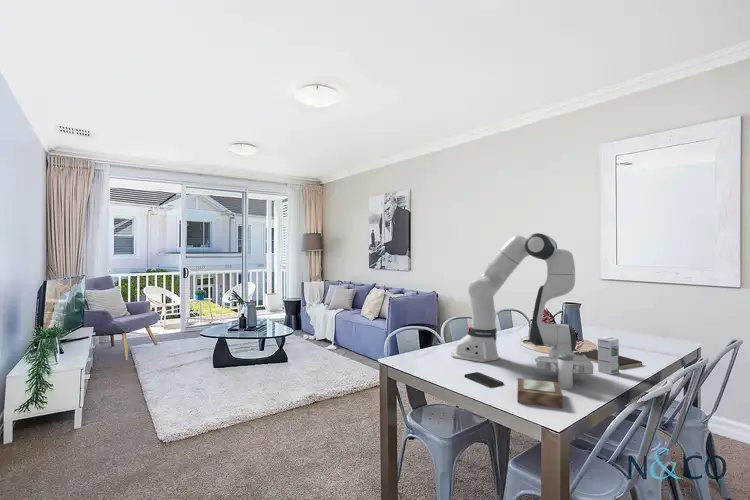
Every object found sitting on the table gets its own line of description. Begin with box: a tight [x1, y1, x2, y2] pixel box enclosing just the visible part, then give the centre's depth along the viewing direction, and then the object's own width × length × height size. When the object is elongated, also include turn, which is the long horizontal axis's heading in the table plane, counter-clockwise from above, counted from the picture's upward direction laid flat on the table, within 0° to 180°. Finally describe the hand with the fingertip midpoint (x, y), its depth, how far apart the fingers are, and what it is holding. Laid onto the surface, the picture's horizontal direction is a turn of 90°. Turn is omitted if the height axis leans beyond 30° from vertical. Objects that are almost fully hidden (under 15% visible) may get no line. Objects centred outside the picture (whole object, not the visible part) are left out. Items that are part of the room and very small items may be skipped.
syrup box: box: [597, 336, 620, 376], centre depth 168 cm, size 6×6×14 cm
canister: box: [557, 354, 574, 391], centre depth 149 cm, size 5×5×12 cm
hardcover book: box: [573, 349, 643, 370], centre depth 186 cm, size 16×23×2 cm
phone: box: [464, 371, 504, 388], centre depth 157 cm, size 8×1×15 cm
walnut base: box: [516, 377, 564, 409], centre depth 139 cm, size 14×14×4 cm
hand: (565, 370), depth 148 cm, fingers closed on canister, 5 cm apart
